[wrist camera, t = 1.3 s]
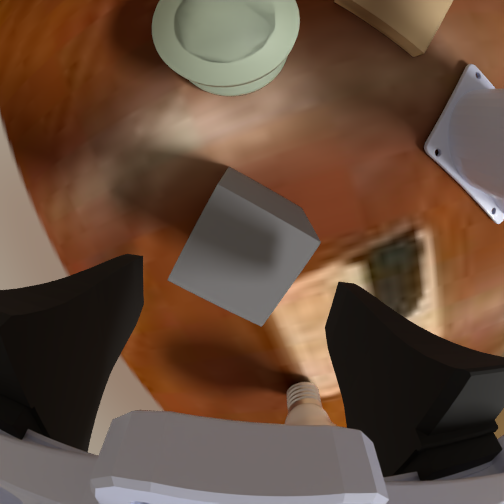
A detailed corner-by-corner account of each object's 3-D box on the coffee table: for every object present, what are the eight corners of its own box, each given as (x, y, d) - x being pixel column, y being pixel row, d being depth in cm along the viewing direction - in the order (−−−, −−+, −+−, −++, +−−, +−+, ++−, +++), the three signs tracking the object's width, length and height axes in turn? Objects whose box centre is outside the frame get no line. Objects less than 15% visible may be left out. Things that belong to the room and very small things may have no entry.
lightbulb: (271, 415, 26) (276, 521, 16) (256, 368, 24) (256, 493, 14) (340, 401, 26) (365, 506, 15) (335, 352, 23) (370, 473, 13)
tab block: (301, 207, 19) (320, 242, 13) (260, 272, 21) (261, 326, 15) (229, 166, 18) (217, 184, 13) (190, 236, 20) (167, 279, 14)
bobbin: (307, 29, 15) (325, 0, 10) (252, 115, 17) (252, 111, 12) (213, -14, 14) (200, -53, 9) (158, 69, 16) (126, 52, 11)
